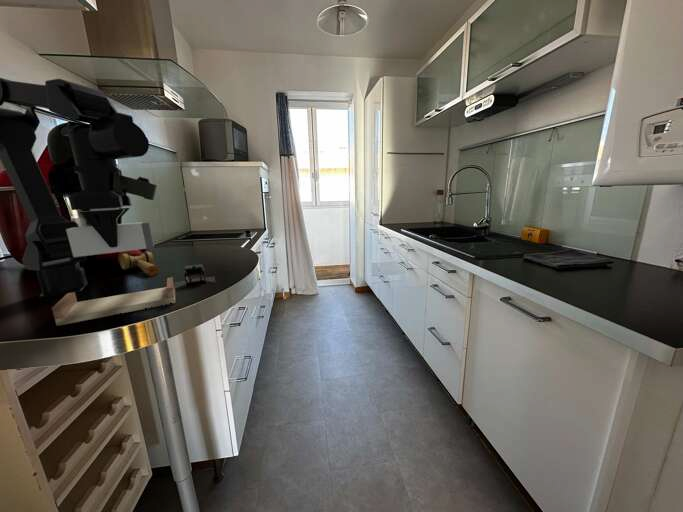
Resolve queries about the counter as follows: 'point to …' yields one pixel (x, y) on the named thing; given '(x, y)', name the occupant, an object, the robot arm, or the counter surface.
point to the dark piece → (195, 281)
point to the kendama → (138, 261)
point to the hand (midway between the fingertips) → (115, 245)
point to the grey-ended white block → (92, 243)
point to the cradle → (111, 304)
